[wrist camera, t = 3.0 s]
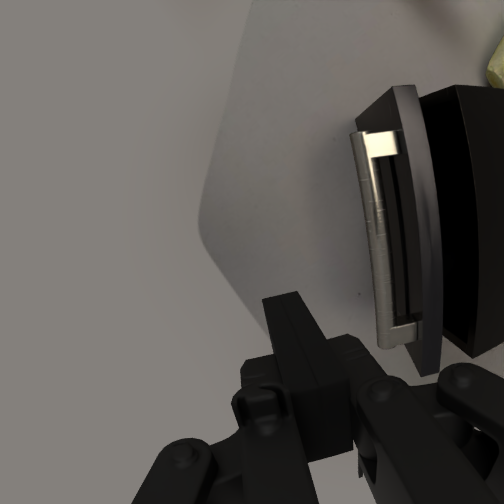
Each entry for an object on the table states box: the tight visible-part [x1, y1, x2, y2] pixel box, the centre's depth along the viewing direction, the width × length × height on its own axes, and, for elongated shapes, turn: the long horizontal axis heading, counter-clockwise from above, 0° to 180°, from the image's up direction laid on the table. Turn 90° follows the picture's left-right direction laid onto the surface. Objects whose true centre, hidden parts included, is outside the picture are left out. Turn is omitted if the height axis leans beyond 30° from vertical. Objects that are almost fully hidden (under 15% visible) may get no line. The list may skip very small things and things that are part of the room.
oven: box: [419, 85, 504, 359], centre depth 25 cm, size 16×20×14 cm
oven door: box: [349, 85, 443, 377], centre depth 25 cm, size 5×20×14 cm, turn 12°
